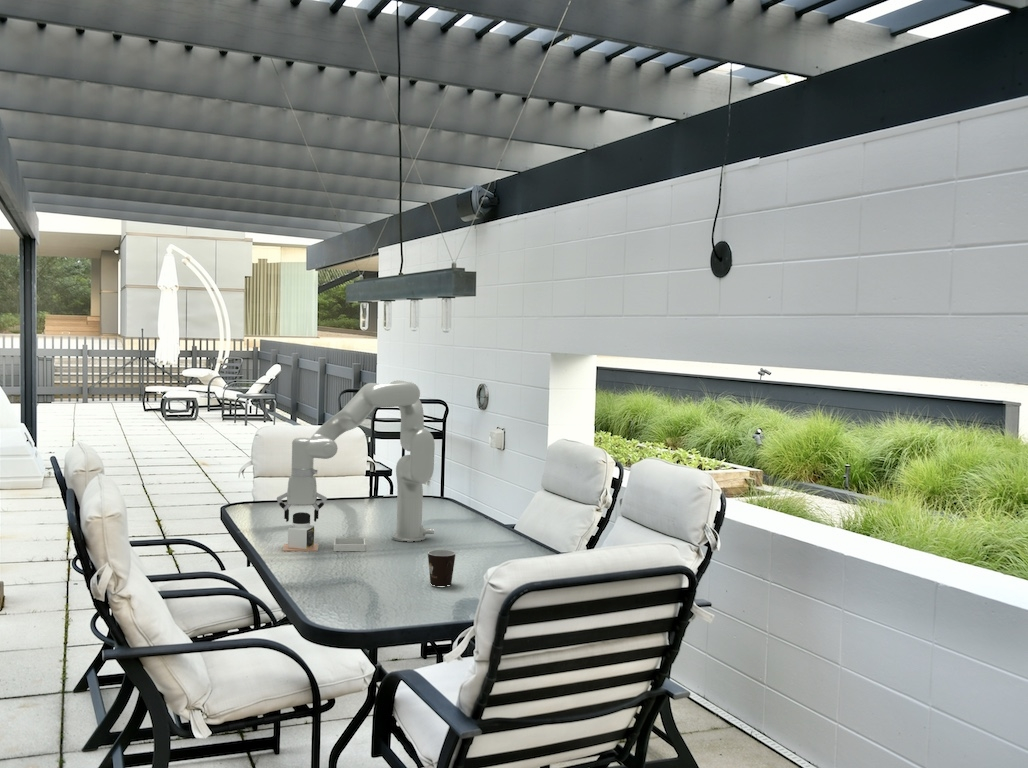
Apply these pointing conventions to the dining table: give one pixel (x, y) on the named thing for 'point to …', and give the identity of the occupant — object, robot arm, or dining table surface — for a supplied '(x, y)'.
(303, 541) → the medicine bottle
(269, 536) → the dining table surface
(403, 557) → the dining table surface
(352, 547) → the parts bin
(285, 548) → the coaster
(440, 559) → the coffee mug
